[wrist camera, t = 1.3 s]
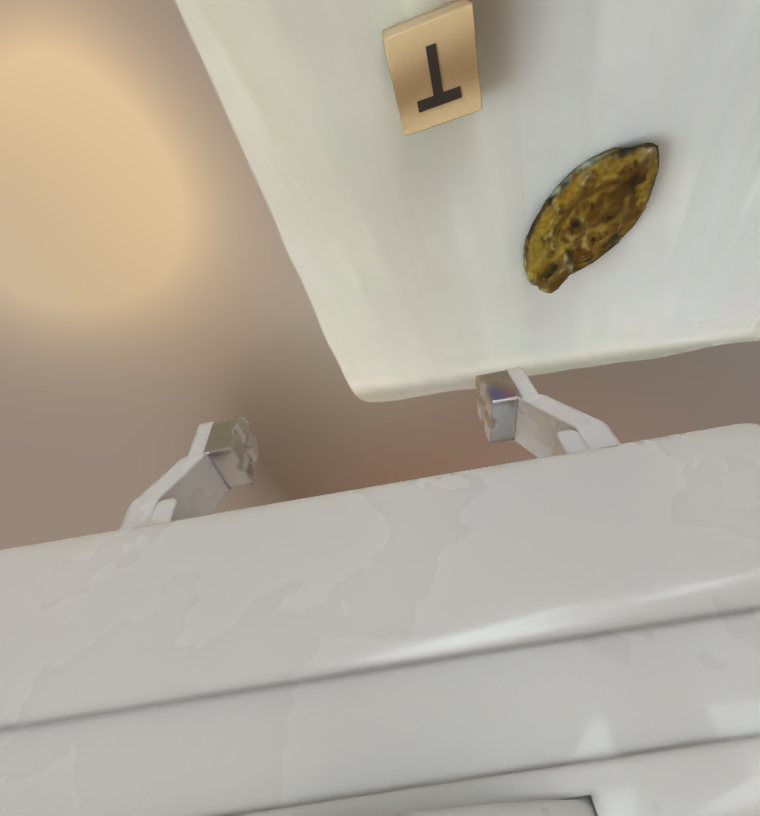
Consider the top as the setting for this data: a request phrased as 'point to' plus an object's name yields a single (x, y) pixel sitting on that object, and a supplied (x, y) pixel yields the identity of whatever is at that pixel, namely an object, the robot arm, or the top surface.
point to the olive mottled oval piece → (589, 213)
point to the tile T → (434, 66)
